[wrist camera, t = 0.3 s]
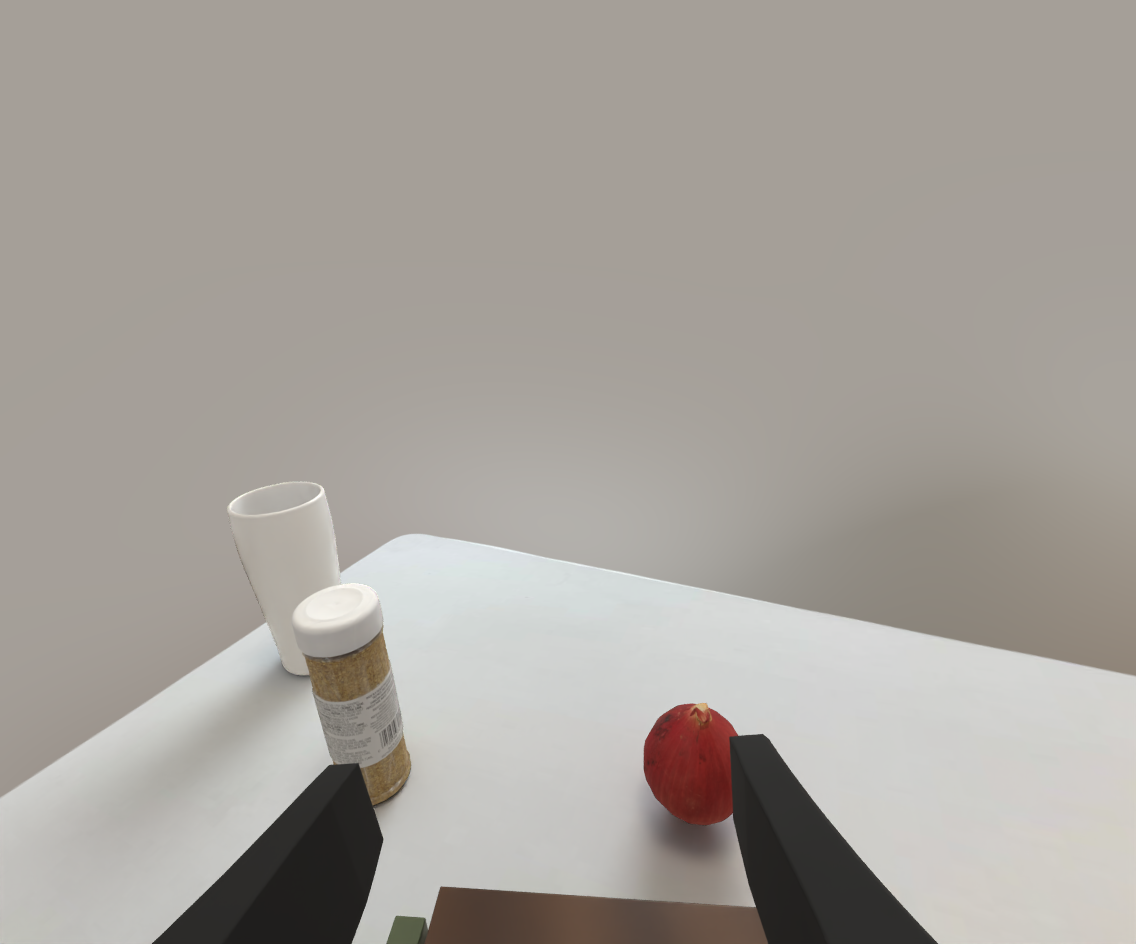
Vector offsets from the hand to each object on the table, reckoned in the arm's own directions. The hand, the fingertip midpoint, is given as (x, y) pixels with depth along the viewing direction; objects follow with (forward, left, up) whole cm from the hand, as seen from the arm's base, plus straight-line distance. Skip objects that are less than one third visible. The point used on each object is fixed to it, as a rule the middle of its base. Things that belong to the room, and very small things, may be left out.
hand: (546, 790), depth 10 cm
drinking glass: (+27, +24, -21) cm, 42 cm away
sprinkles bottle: (+16, +14, -21) cm, 30 cm away
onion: (+15, -6, -21) cm, 27 cm away
